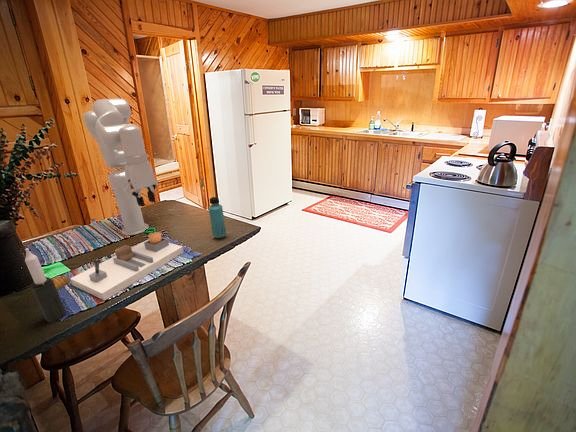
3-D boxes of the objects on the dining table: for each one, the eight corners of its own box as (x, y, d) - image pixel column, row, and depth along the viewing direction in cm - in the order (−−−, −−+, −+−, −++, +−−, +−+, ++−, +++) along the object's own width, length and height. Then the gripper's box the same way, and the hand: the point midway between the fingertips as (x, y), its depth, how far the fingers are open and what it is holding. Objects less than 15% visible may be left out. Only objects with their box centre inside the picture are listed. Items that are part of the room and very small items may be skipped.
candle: (61, 308, 102) (33, 242, 93) (67, 314, 100) (40, 246, 90) (43, 317, 99) (12, 249, 89) (49, 323, 96) (18, 254, 86)
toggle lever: (92, 272, 111) (92, 259, 107) (98, 270, 113) (97, 256, 109) (96, 276, 111) (96, 262, 107) (101, 273, 113) (101, 259, 109)
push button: (147, 244, 132) (145, 236, 130) (157, 239, 136) (155, 231, 134) (155, 247, 130) (153, 238, 128) (165, 241, 134) (163, 233, 132)
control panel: (72, 285, 115) (67, 271, 112) (153, 243, 143) (150, 231, 141) (104, 300, 105) (99, 286, 103) (183, 252, 134) (181, 240, 132)
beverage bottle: (223, 241, 142) (218, 200, 135) (210, 240, 144) (204, 200, 136) (229, 234, 148) (223, 195, 140) (216, 234, 150) (210, 195, 142)
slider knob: (117, 261, 123) (114, 250, 121) (129, 255, 127) (125, 244, 125) (122, 262, 122) (119, 251, 120) (133, 256, 126) (130, 246, 124)
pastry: (65, 278, 120) (62, 269, 118) (73, 283, 116) (70, 275, 115) (37, 291, 113) (33, 282, 111) (45, 297, 109) (41, 288, 108)
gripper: (148, 154, 127) (157, 196, 134) (109, 163, 113) (122, 209, 121) (161, 155, 123) (169, 198, 131) (122, 165, 110) (134, 212, 117)
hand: (147, 203), depth 125 cm, fingers open, 4 cm apart
